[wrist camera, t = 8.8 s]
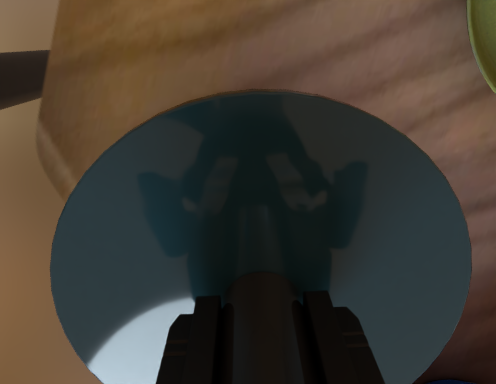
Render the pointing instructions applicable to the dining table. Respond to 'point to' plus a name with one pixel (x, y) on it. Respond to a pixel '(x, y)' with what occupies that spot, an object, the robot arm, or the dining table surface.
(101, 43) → the dining table surface
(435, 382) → the vase
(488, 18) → the saucer
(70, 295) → the lid
